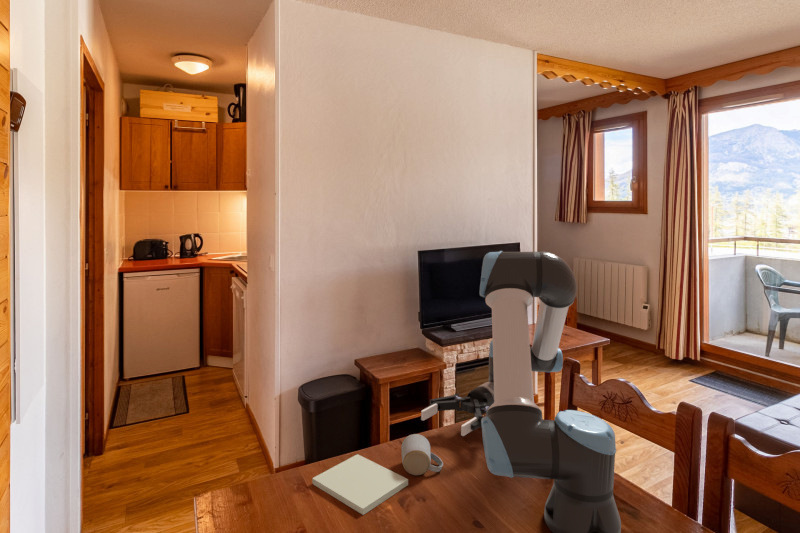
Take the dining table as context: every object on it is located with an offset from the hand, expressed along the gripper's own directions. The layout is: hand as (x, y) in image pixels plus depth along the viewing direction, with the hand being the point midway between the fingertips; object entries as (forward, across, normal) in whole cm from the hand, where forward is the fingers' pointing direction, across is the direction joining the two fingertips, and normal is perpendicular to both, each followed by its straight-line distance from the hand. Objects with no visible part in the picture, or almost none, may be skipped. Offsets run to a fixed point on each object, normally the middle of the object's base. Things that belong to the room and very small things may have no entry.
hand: (441, 423), depth 130 cm
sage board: (+25, +6, -8) cm, 27 cm away
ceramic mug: (+10, -1, -9) cm, 13 cm away
